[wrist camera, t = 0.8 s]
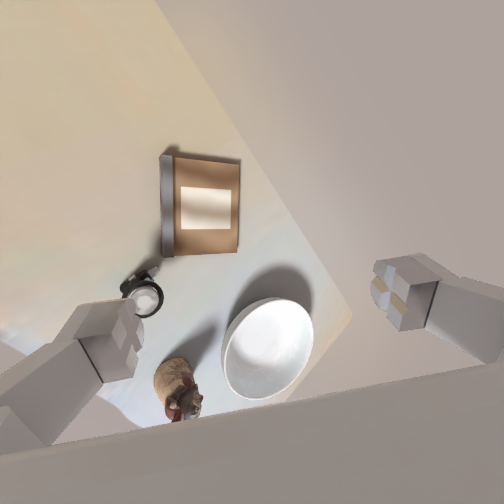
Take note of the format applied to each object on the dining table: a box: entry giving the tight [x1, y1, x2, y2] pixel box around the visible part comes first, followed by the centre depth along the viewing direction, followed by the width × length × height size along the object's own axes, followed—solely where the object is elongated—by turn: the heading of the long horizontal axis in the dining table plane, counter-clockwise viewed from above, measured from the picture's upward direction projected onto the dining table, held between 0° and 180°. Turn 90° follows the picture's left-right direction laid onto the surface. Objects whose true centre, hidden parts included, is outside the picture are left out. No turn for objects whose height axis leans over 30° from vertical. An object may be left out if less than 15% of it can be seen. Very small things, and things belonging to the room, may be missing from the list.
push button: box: [120, 266, 164, 318], centre depth 40 cm, size 7×5×10 cm
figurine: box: [154, 357, 203, 423], centre depth 44 cm, size 7×7×12 cm
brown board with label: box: [159, 155, 239, 258], centre depth 46 cm, size 16×14×2 cm
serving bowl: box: [221, 297, 314, 400], centre depth 55 cm, size 21×21×7 cm
